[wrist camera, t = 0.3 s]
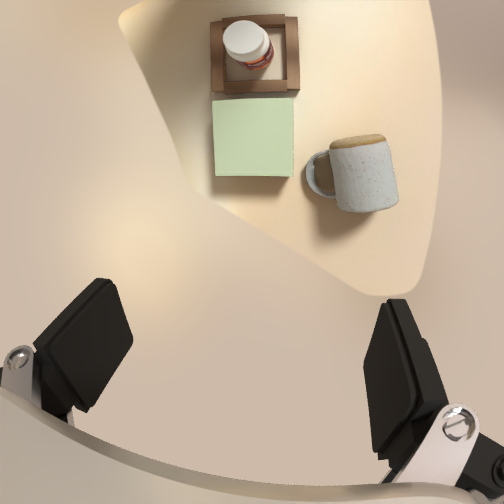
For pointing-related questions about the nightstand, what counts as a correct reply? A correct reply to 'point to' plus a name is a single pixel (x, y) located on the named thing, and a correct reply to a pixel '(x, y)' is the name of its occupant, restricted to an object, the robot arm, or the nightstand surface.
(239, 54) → the pill bottle
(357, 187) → the ceramic mug
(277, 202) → the nightstand surface
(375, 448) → the robot arm
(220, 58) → the base
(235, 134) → the green square block
